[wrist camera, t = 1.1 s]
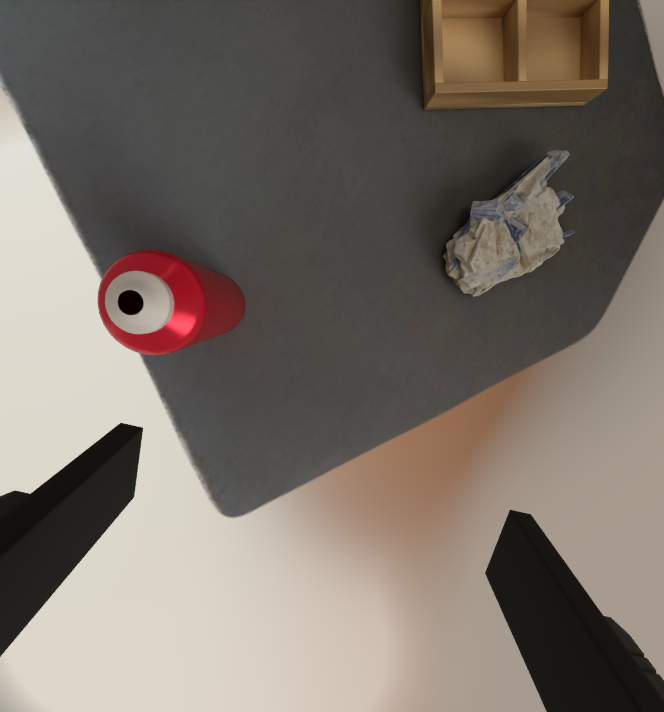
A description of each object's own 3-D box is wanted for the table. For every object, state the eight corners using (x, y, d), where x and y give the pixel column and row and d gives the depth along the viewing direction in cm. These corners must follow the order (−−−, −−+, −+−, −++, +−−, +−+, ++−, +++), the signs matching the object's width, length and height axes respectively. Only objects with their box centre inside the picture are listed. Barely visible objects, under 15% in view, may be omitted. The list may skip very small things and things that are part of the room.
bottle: (174, 288, 38) (43, 268, 18) (230, 265, 38) (160, 220, 18) (200, 343, 39) (101, 381, 19) (254, 320, 39) (213, 335, 19)
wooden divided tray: (417, -79, 36) (428, -115, 33) (585, -78, 37) (611, -112, 34) (423, 110, 38) (435, 93, 35) (583, 105, 39) (608, 88, 36)
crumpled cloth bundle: (464, 309, 40) (483, 309, 36) (420, 234, 39) (435, 225, 35) (589, 227, 41) (623, 218, 36) (550, 150, 39) (580, 131, 35)
